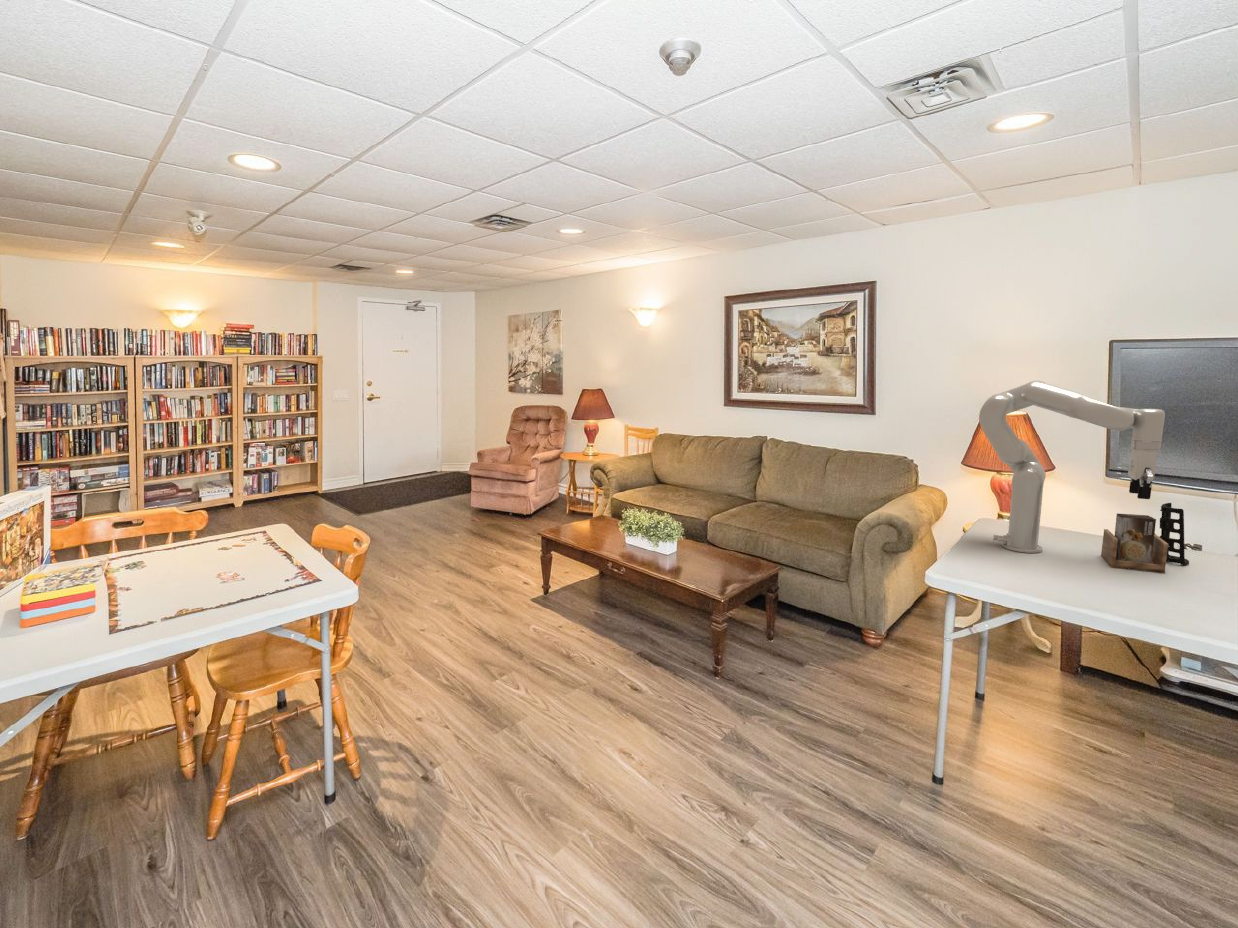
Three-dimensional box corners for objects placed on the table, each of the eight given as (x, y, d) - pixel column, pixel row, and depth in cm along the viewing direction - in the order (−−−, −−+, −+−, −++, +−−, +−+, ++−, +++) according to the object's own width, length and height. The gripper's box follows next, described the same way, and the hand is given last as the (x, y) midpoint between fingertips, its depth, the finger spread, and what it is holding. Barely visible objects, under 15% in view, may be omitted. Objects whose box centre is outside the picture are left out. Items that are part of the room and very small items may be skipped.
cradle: (1110, 567, 204) (1114, 538, 203) (1101, 555, 217) (1104, 529, 215) (1164, 573, 198) (1168, 543, 197) (1151, 561, 210) (1154, 533, 209)
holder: (1198, 565, 204) (1198, 508, 201) (1172, 566, 205) (1172, 509, 203) (1175, 556, 214) (1175, 501, 212) (1150, 557, 216) (1150, 503, 214)
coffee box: (1144, 560, 208) (1149, 515, 206) (1151, 565, 203) (1157, 519, 200) (1111, 557, 212) (1116, 512, 210) (1117, 562, 206) (1123, 517, 204)
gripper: (1124, 442, 210) (1118, 490, 213) (1138, 448, 195) (1132, 499, 198) (1152, 443, 207) (1145, 492, 210) (1169, 449, 192) (1161, 502, 194)
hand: (1139, 495), depth 204 cm, fingers open, 9 cm apart
